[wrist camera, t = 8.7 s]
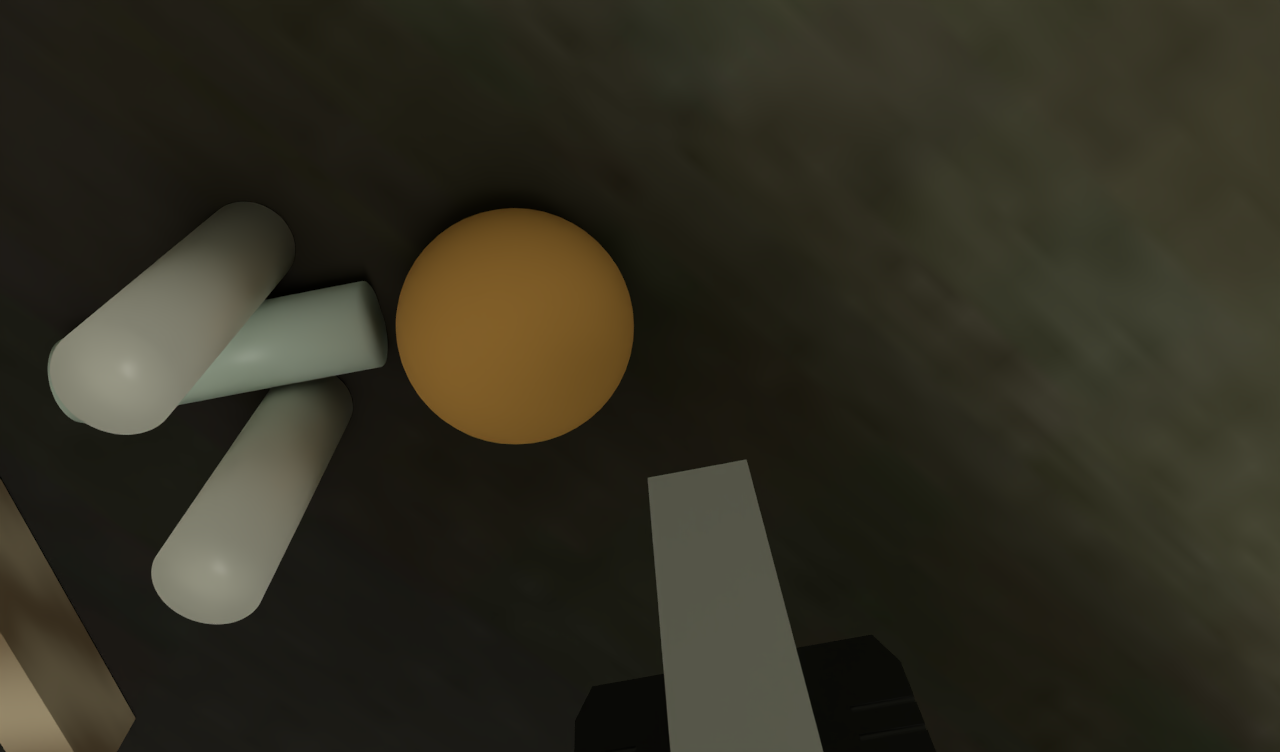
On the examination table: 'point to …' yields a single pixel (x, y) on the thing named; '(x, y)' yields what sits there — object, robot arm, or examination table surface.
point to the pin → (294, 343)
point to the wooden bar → (49, 658)
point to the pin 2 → (252, 504)
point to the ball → (514, 326)
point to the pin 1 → (171, 321)
